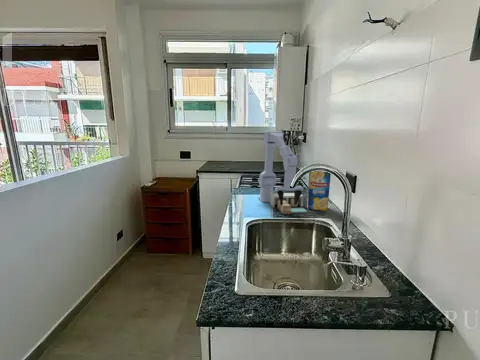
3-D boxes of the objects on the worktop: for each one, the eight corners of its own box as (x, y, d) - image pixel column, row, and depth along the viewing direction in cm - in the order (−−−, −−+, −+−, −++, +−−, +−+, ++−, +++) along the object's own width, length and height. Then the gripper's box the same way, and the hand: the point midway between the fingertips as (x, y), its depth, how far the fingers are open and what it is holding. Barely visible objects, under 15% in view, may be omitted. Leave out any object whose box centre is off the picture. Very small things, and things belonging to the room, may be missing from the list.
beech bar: (277, 207, 155) (277, 200, 154) (284, 207, 156) (284, 200, 155) (283, 214, 144) (283, 206, 143) (290, 214, 144) (291, 206, 143)
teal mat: (287, 208, 153) (287, 207, 153) (302, 208, 154) (302, 207, 154) (291, 212, 146) (291, 211, 146) (307, 212, 147) (307, 211, 147)
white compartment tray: (269, 203, 162) (270, 193, 161) (298, 203, 165) (299, 192, 164) (272, 207, 156) (273, 196, 154) (302, 206, 158) (303, 195, 157)
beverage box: (327, 210, 152) (331, 171, 148) (307, 208, 154) (310, 170, 149) (325, 206, 159) (329, 169, 154) (306, 205, 160) (309, 169, 156)
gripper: (278, 180, 134) (277, 206, 137) (306, 180, 136) (304, 206, 139) (274, 178, 141) (273, 202, 144) (301, 177, 143) (299, 202, 146)
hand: (288, 204), depth 142 cm, fingers open, 7 cm apart
